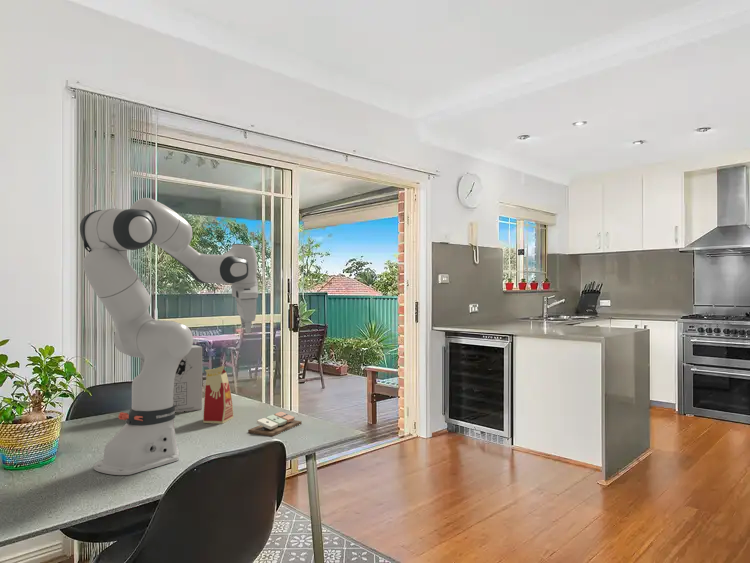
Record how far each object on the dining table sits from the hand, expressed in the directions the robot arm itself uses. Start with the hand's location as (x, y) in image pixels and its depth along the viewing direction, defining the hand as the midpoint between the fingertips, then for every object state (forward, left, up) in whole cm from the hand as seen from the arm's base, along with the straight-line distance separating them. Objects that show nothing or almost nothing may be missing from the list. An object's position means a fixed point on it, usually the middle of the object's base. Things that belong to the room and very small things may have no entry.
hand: (246, 330), depth 181 cm
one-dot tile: (-2, -10, -31) cm, 33 cm away
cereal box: (+7, +42, -34) cm, 54 cm away
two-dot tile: (+3, -10, -31) cm, 33 cm away
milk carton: (+3, +16, -34) cm, 37 cm away
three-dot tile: (+8, -10, -31) cm, 34 cm away
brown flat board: (+3, -10, -34) cm, 35 cm away
